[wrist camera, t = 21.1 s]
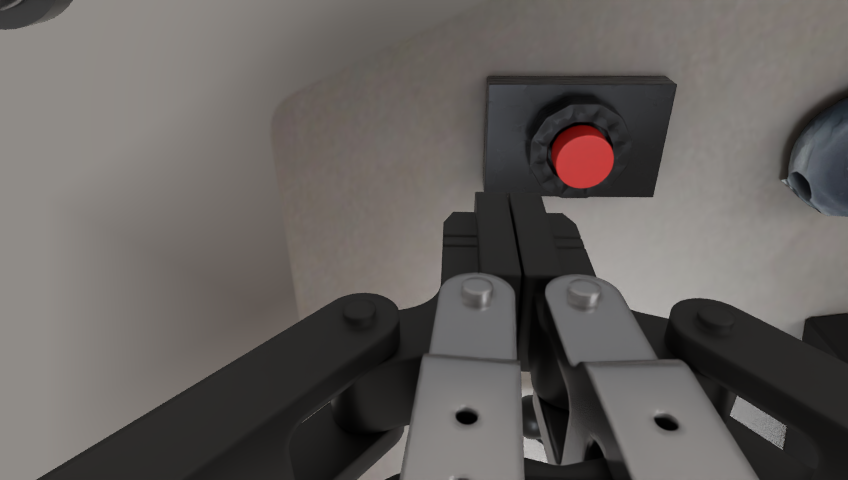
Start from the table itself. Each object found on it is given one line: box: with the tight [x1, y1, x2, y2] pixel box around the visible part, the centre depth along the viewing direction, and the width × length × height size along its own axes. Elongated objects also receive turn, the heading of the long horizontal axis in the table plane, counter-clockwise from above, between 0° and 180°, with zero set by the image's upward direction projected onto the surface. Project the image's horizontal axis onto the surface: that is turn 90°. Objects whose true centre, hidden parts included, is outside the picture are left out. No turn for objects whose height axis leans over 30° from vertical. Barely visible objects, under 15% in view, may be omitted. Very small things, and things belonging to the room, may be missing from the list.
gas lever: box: [522, 395, 542, 440], centre depth 46 cm, size 14×4×4 cm, turn 48°
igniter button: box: [551, 125, 614, 188], centre depth 36 cm, size 4×4×2 cm
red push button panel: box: [483, 76, 677, 198], centre depth 38 cm, size 12×8×4 cm, turn 91°
